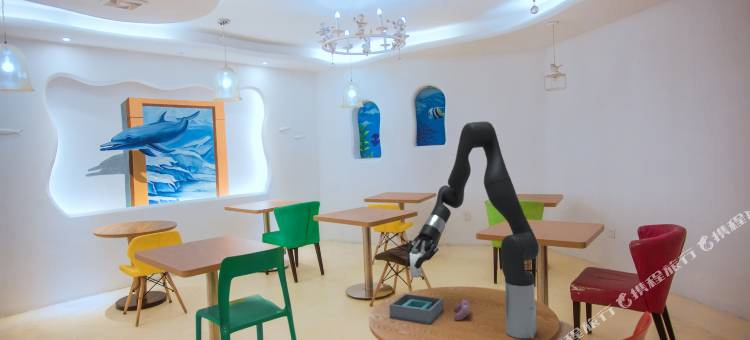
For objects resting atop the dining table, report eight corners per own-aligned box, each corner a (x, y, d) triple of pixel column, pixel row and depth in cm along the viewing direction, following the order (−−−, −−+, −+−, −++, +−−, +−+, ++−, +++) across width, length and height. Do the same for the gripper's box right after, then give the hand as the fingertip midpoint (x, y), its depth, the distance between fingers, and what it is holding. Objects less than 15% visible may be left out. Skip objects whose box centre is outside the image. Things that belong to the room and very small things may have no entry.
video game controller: (464, 325, 159) (473, 309, 158) (452, 319, 160) (461, 303, 159) (464, 315, 169) (472, 299, 168) (453, 310, 169) (461, 294, 168)
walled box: (443, 311, 169) (443, 298, 169) (430, 324, 157) (429, 310, 157) (405, 305, 177) (404, 293, 177) (389, 317, 165) (389, 304, 164)
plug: (422, 274, 167) (422, 248, 167) (418, 277, 164) (417, 251, 163) (413, 273, 169) (412, 247, 169) (408, 276, 166) (407, 250, 165)
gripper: (414, 221, 176) (393, 257, 168) (442, 225, 165) (421, 264, 158) (423, 232, 180) (403, 268, 172) (451, 237, 169) (431, 275, 161)
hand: (411, 266), depth 165 cm, fingers closed on plug, 4 cm apart
